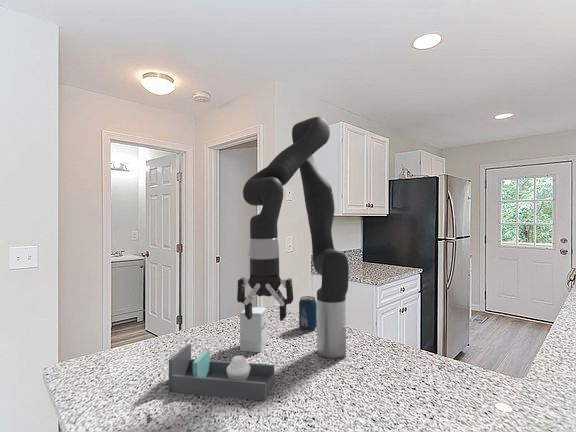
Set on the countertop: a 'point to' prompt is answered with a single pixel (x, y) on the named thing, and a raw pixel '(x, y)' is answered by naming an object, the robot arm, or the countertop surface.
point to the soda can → (307, 313)
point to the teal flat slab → (202, 364)
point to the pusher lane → (218, 378)
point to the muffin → (238, 368)
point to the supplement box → (253, 330)
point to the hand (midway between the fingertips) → (265, 319)
